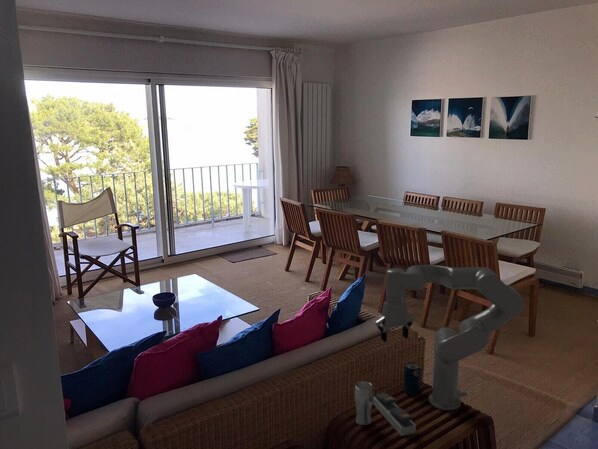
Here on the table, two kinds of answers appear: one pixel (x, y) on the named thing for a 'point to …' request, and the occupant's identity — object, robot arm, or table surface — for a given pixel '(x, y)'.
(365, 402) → the beer glass
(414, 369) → the soda can
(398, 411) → the outlet rocker
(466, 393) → the robot arm
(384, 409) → the power strip
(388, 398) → the outlet rocker
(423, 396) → the table surface
